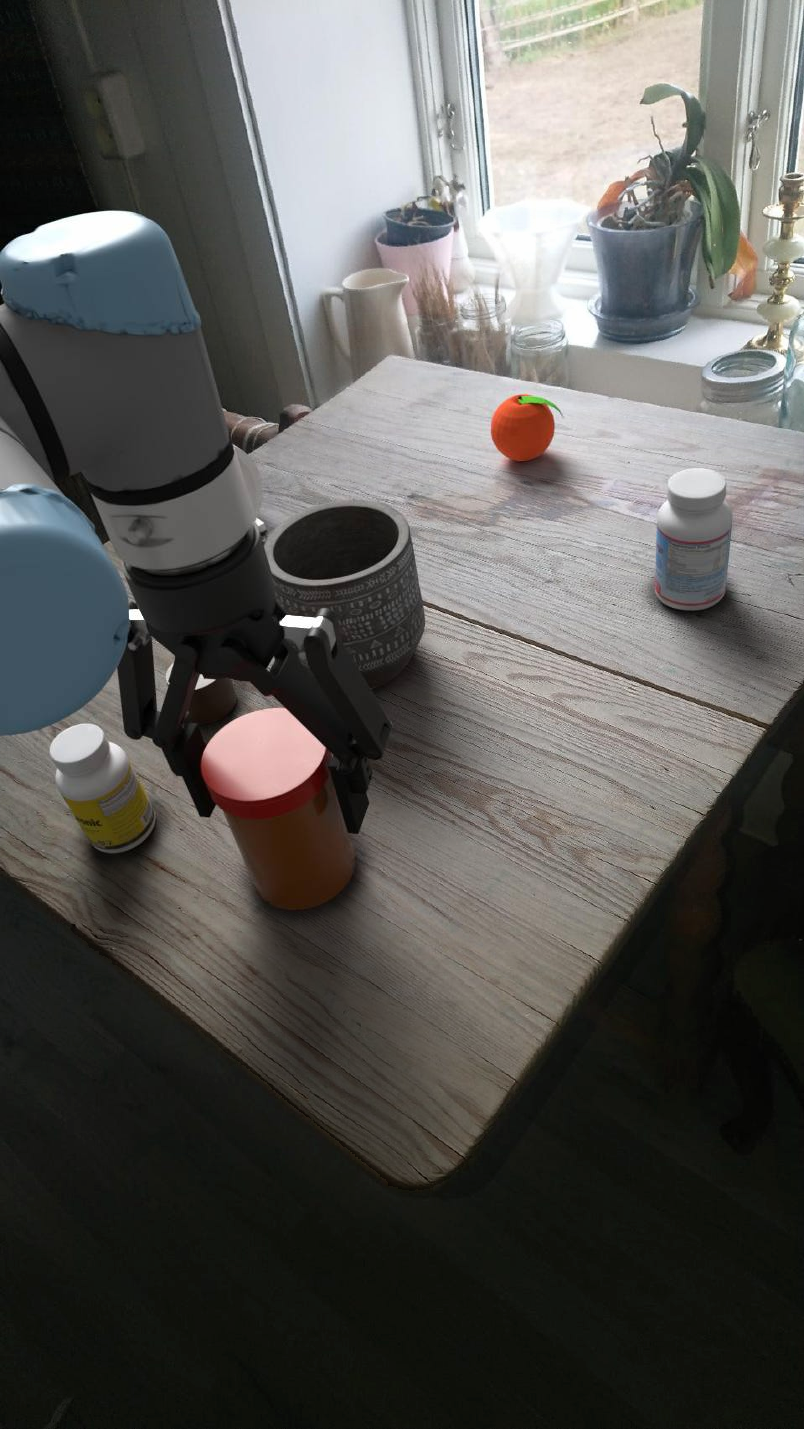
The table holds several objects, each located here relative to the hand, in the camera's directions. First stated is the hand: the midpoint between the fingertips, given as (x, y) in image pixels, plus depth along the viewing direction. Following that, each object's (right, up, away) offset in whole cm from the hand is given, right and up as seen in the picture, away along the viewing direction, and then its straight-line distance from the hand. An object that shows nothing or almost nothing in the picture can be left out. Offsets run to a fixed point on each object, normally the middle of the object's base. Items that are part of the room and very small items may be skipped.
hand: (283, 810), depth 67 cm
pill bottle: (+34, +17, +20) cm, 43 cm away
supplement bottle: (-14, -3, +10) cm, 17 cm away
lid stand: (-9, +7, +19) cm, 22 cm away
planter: (+5, +11, +20) cm, 24 cm away
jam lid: (-1, +4, -4) cm, 5 cm away
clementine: (+22, +35, +41) cm, 58 cm away
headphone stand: (-9, +26, +39) cm, 48 cm away
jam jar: (+1, -5, +4) cm, 6 cm away
